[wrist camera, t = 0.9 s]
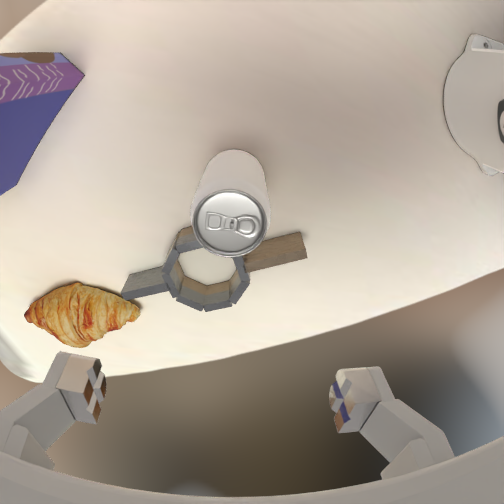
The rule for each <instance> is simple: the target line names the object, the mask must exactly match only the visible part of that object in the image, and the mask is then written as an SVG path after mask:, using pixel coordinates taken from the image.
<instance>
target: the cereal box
mask: <svg viewBox="0 0 504 504" xmlns="http://www.w3.org/2000/svg"><path fill="white" fill-rule="evenodd" d="M84 76H85V75H84V74H83V73H82V72H81V71H80V70H79V69H78V68H77V67H76V66H74V65H73V64H72V63H71V62H70V61H69V60H68V59H67V58H66V57H65V56H63V55H62V54H61V53H48V52H28V53H0V195H2V194H3V193H5V192H6V191H8V190H9V189H11V188H12V187H14V186H15V185H17V183H18V181H19V179H20V177H21V175H22V173H23V171H24V169H25V168H26V166H27V164H28V162H29V160H30V158H31V157H32V155H33V153H34V151H35V149H36V148H37V146H38V144H39V143H40V141H41V139H42V138H43V136H44V134H45V133H46V131H47V129H48V128H49V126H50V125H51V123H52V122H53V120H54V118H55V117H56V115H57V114H58V112H59V111H60V109H61V108H62V106H63V105H64V103H65V102H66V101H67V99H68V98H69V96H70V95H71V94H72V92H73V91H74V89H75V88H76V87H77V85H78V84H79V83H80V81H81V80H82V79H83V77H84Z"/></svg>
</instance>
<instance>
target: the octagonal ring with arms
mask: <svg viewBox="0 0 504 504" xmlns="http://www.w3.org/2000/svg"><path fill="white" fill-rule="evenodd" d="M192 233H194V232H193V227H192V226H191V227H187V228H184V229H182V230H181V232H178V234H177V236H176V238H175V240H178V238H179V237H181V236H184V235H188V234H192ZM175 240H174V242H175ZM174 242H173V244H174ZM173 244H172V246H173ZM172 246H171V248H172ZM171 248H170V250H171ZM170 250H169V252H170ZM169 252H168V254H169ZM167 256H168V255H167ZM166 258H167V257H166ZM305 258H307V253H306V249H305V246H304V243H303V240H302V236H301V233H300V232H297V233H293V234H289V235H285V236H281V237H277V238H273V239H269V240H265V241H262V242H261V243H260V245H259V246H258V247H257V248H255V249H254V250H253V251H251V252H250V253H248V254H245V255H244V264H243V265H244V266H245V267H244V266H243V268H246V269H244V271H245V273H248V272H252V271H256V270H260V269H264V268H269V267H273V266H277V265H281V264H285V263H289V262H293V261H297V260H301V259H305ZM174 268H175V270H176V273H177V275H178V277H179V279H180V281H181V283H182V285H183V286H185V287H188V288H190V289H192V290H194V291H197V292H199V293H201V294H203V295H209V294H213V293H218V292H222V291H227V290H229V289H230V288H231V286H232V285H233V283H234V282H235V280H236V279H237V277H238V276H239V274H238V271H237V270H236V272H235V273H234V275H233V276H232V278H231V279H230V281H225V282H221V283H217V284H212V285H208V286H206V285H204V284H202V283H199V282H197V281H195V280H193V279H190V278H188V277H186V276H185V275H184V273H183V271H182V269H181V266H180V264H179V262H178V260H176V262H175V264H174ZM246 270H247V271H246Z"/></svg>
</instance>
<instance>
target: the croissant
mask: <svg viewBox="0 0 504 504" xmlns="http://www.w3.org/2000/svg"><path fill="white" fill-rule="evenodd" d="M139 316H140V309H139V308H138V307H137V306H136V305H135V304H132V303H131V302H129V301H126V300H124V299H122V298H121V297H119V296H117V295H115V294H112V293H108V292H105V291H103V290H100V289H99V288H93V287H89V286H85V285H84V286H82V283H78V282H77V283H74V284H72V285H69V286H66V287H65V286H64V287H60V288H57V289H55V290H53V291H52V292H50V293H49V294H47V295H45V296H43V297H42V298H40V299H39V300H37V301H35V302H33V303H32V304H31V305H30V307H29V309H28V310H27V311H26V312H25V314H24V317H25V318H26V320H27V322H29V323H34V324H35V325H36V326H37V327H39V328H41V329H45V330H46V331H47V332H48V333H50V334H51V335H54V336H55V337H56V338H57V339H58V340H59V341H61V342H62V343H64V344H66V345H69V346H71V347H72V346H73V347H78V348H83V347H87V346H88V345H89V344H90V343H91V342H92V341H96V340H98V339H101V338H103V336H104V334H106V333H107V332H109V331H113V330H118V329H121V327H122V326H123V325H125V324H126V322H127V321H129V322H134V321H135V320H136V319H137V318H138V317H139Z"/></svg>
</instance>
